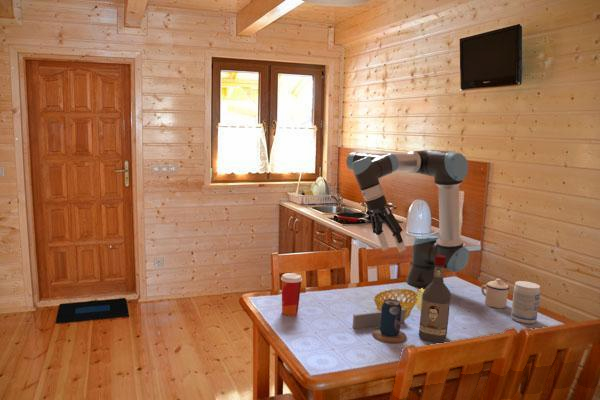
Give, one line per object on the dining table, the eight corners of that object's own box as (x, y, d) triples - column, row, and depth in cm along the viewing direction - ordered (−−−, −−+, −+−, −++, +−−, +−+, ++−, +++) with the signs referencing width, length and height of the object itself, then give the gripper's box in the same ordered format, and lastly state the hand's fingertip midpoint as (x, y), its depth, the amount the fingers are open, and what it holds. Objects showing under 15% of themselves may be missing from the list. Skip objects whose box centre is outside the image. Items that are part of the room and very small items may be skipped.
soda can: (399, 339, 183) (402, 306, 181) (379, 336, 184) (381, 304, 182) (399, 331, 190) (402, 299, 188) (380, 329, 191) (382, 297, 189)
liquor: (421, 330, 194) (429, 251, 189) (447, 335, 190) (455, 254, 186) (417, 339, 185) (425, 257, 181) (444, 344, 182) (452, 261, 177)
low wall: (352, 327, 193) (353, 314, 192) (402, 321, 202) (403, 308, 201) (354, 328, 192) (355, 315, 191) (404, 322, 200) (405, 309, 200)
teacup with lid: (511, 306, 224) (514, 280, 223) (498, 310, 219) (501, 283, 217) (486, 298, 234) (489, 272, 232) (474, 301, 229) (477, 275, 227)
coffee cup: (288, 307, 209) (290, 271, 207) (304, 313, 204) (306, 276, 202) (274, 312, 203) (276, 275, 200) (290, 318, 198) (292, 280, 195)
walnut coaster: (365, 331, 190) (366, 329, 190) (393, 327, 195) (394, 326, 195) (383, 345, 179) (384, 343, 179) (413, 340, 184) (413, 339, 184)
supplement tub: (538, 326, 204) (543, 289, 202) (512, 322, 206) (516, 286, 204) (533, 317, 213) (538, 282, 211) (509, 313, 216) (513, 279, 213)
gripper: (353, 203, 208) (372, 252, 209) (380, 199, 184) (401, 255, 185) (369, 196, 210) (387, 245, 211) (398, 191, 186) (419, 247, 187)
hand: (394, 250), depth 198 cm, fingers open, 13 cm apart
